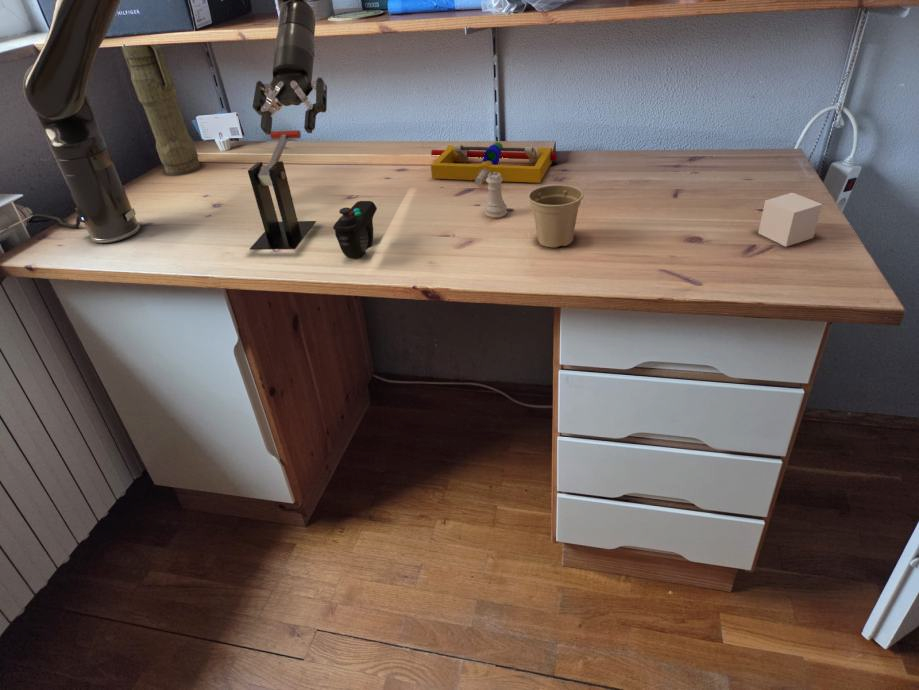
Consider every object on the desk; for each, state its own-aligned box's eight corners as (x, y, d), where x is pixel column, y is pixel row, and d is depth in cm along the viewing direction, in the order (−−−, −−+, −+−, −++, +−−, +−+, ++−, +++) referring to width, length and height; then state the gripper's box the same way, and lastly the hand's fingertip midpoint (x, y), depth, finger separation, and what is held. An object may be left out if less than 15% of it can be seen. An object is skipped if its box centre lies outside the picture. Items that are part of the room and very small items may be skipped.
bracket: (275, 227, 127) (255, 155, 118) (317, 226, 125) (300, 153, 116) (251, 255, 117) (227, 178, 108) (296, 254, 115) (276, 177, 107)
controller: (338, 269, 109) (326, 216, 104) (363, 237, 119) (353, 187, 113) (361, 270, 108) (351, 216, 103) (384, 238, 118) (376, 187, 112)
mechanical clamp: (433, 132, 149) (558, 134, 140) (435, 158, 153) (557, 161, 144) (404, 158, 135) (540, 163, 126) (407, 186, 139) (540, 192, 130)
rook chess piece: (488, 208, 125) (485, 170, 121) (509, 210, 124) (508, 170, 119) (482, 218, 122) (479, 178, 117) (504, 219, 121) (502, 179, 116)
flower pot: (530, 228, 116) (530, 184, 111) (582, 228, 114) (583, 183, 110) (526, 252, 109) (525, 205, 104) (581, 252, 107) (583, 205, 102)
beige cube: (784, 225, 109) (792, 192, 106) (813, 238, 105) (822, 204, 101) (758, 233, 108) (765, 200, 104) (785, 246, 103) (794, 212, 99)
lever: (275, 138, 122) (270, 127, 120) (302, 137, 121) (298, 126, 119) (253, 186, 114) (248, 175, 112) (282, 185, 113) (277, 174, 111)
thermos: (190, 176, 157) (137, 21, 136) (153, 174, 160) (96, 23, 140) (212, 163, 163) (165, 14, 143) (176, 162, 167) (125, 16, 147)
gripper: (251, 45, 121) (243, 124, 118) (321, 41, 119) (314, 120, 116) (269, 68, 128) (262, 142, 126) (335, 64, 126) (329, 140, 123)
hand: (287, 132), depth 121 cm, fingers open, 8 cm apart
